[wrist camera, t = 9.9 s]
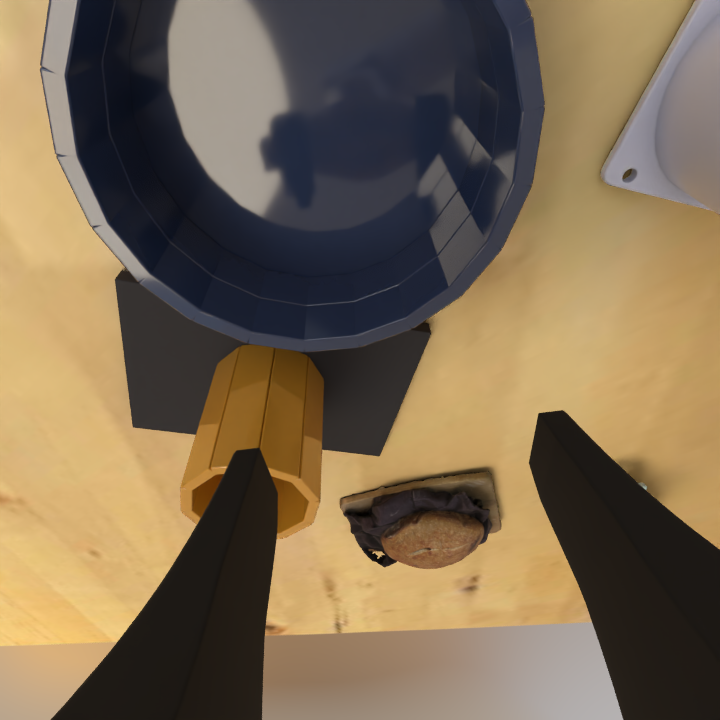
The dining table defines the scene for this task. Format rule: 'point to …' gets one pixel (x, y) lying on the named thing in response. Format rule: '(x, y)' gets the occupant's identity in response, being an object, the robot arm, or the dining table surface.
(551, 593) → the dining table surface
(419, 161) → the pot
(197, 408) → the pot holder
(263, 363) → the cup
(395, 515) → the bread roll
